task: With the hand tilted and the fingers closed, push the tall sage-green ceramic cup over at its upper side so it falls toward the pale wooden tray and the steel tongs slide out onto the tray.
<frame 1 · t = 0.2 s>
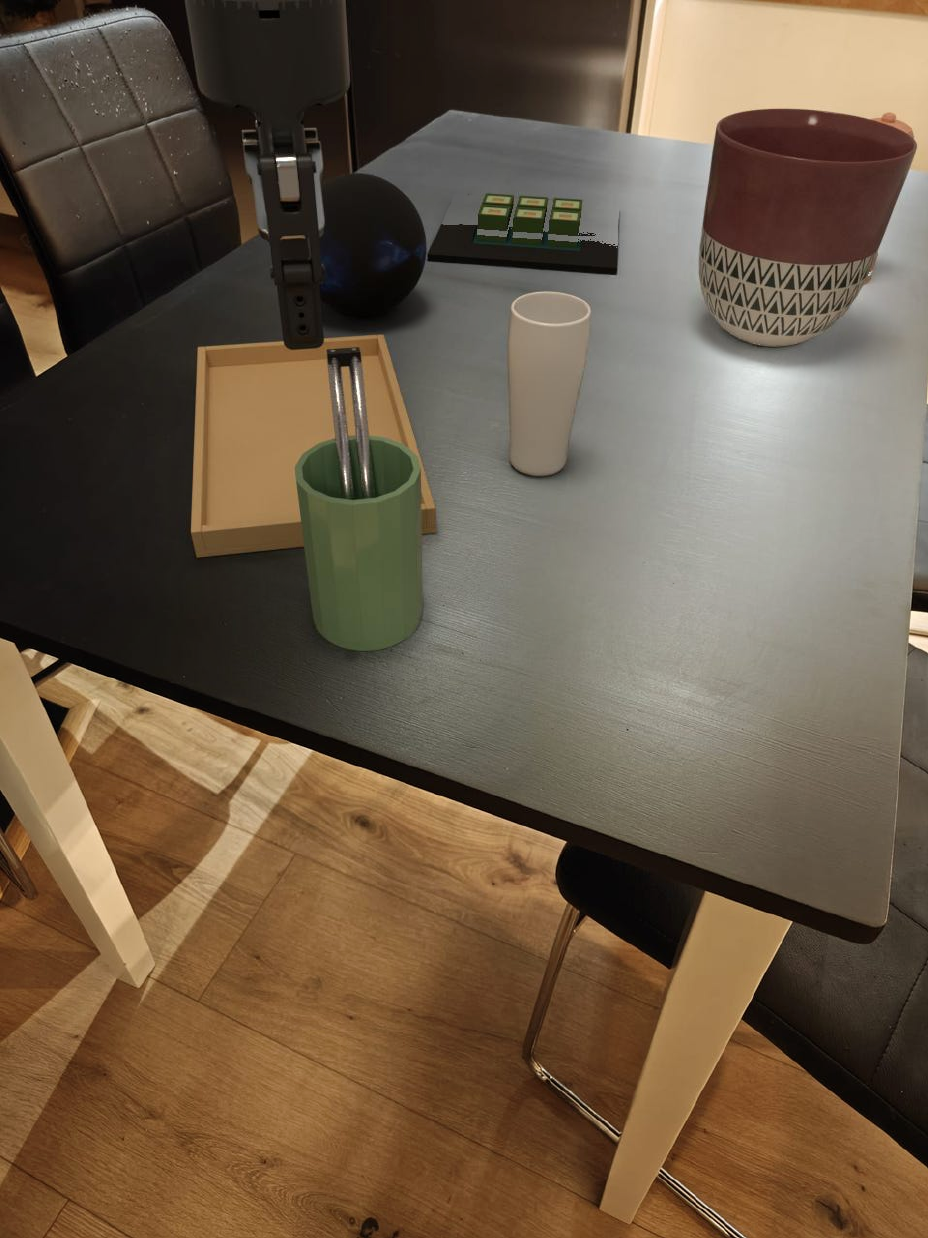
hand: (299, 313, 53), 23 cm above the table, tool pointing down, fingers open, 8 cm apart
green cup: (367, 613, 68), on the table, touching tongs
decorative sphere: (364, 311, 108), on the table
tongs: (358, 497, 63), point 10 cm above the table, touching green cup
planter: (762, 336, 105), on the table
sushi: (529, 235, 128), on the table
drinking glass: (537, 464, 84), on the table
pepper shaker: (840, 276, 119), on the table
tray: (305, 441, 86), on the table
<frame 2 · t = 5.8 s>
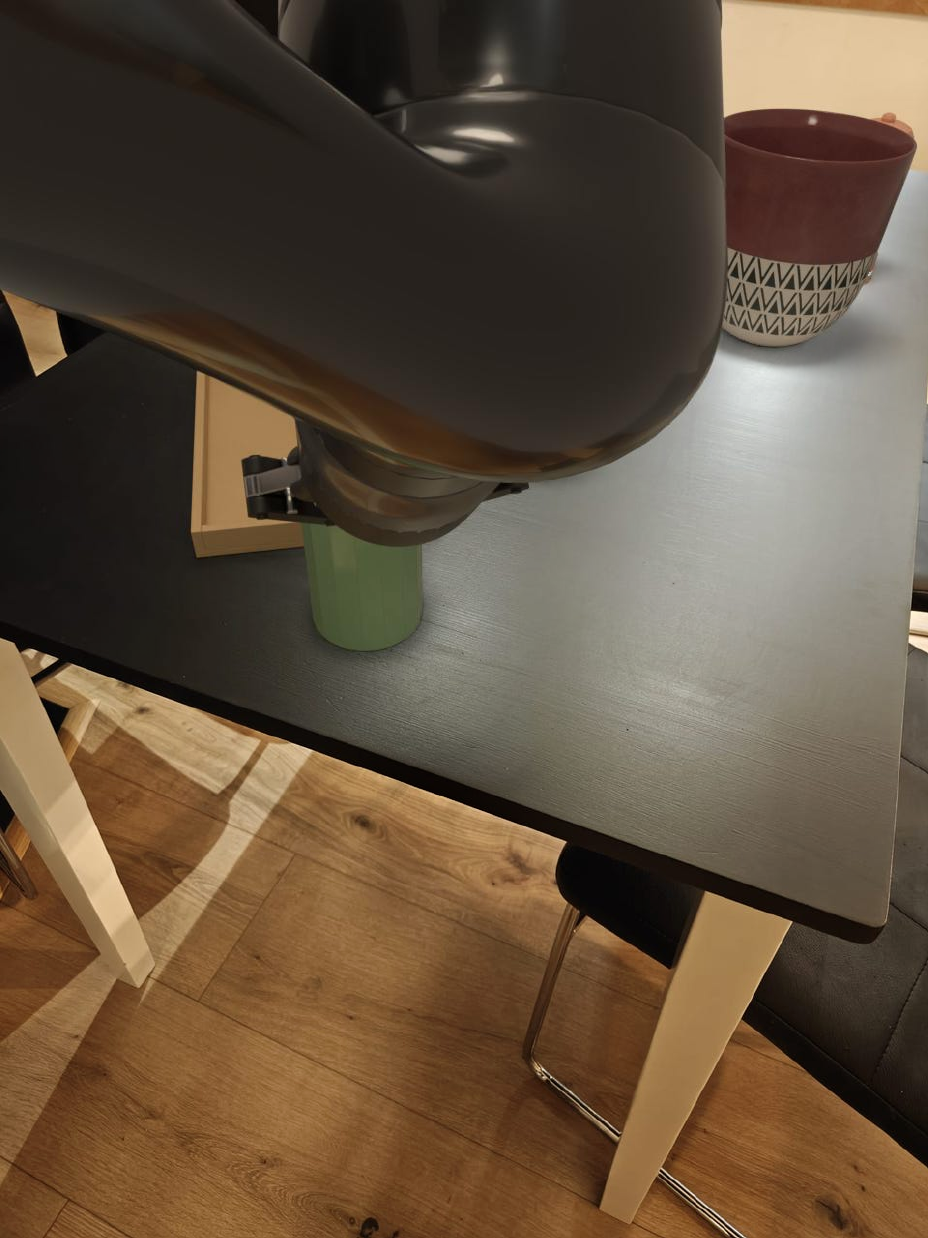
hand: (377, 509, 48), 18 cm above the table, tool tilted 45°, fingers closed
nothing on the table moved.
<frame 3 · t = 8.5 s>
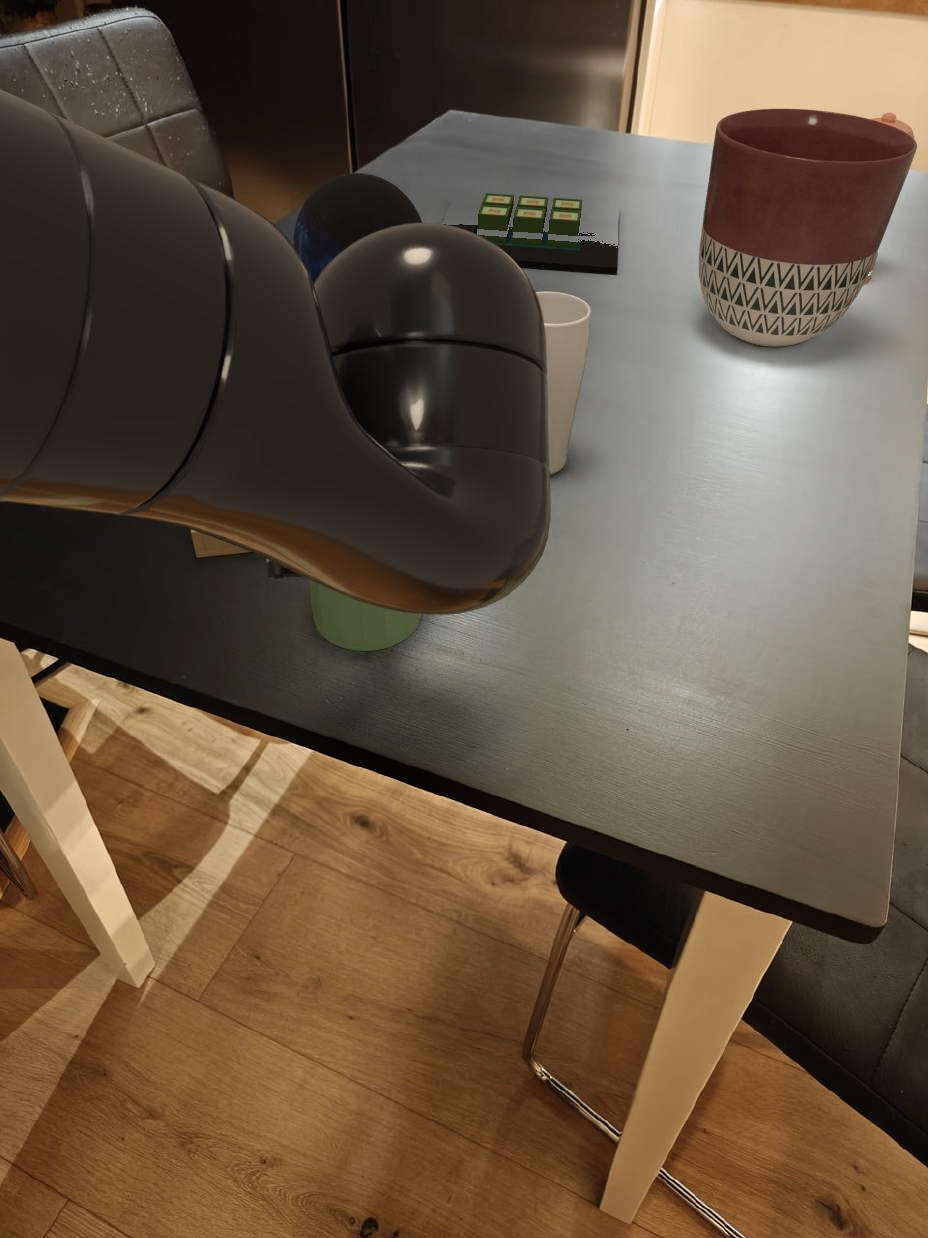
hand: (369, 561, 59), 9 cm above the table, tool tilted 45°, fingers closed
green cup: (367, 613, 68), on the table, touching gripper, tongs
everything else where it was.
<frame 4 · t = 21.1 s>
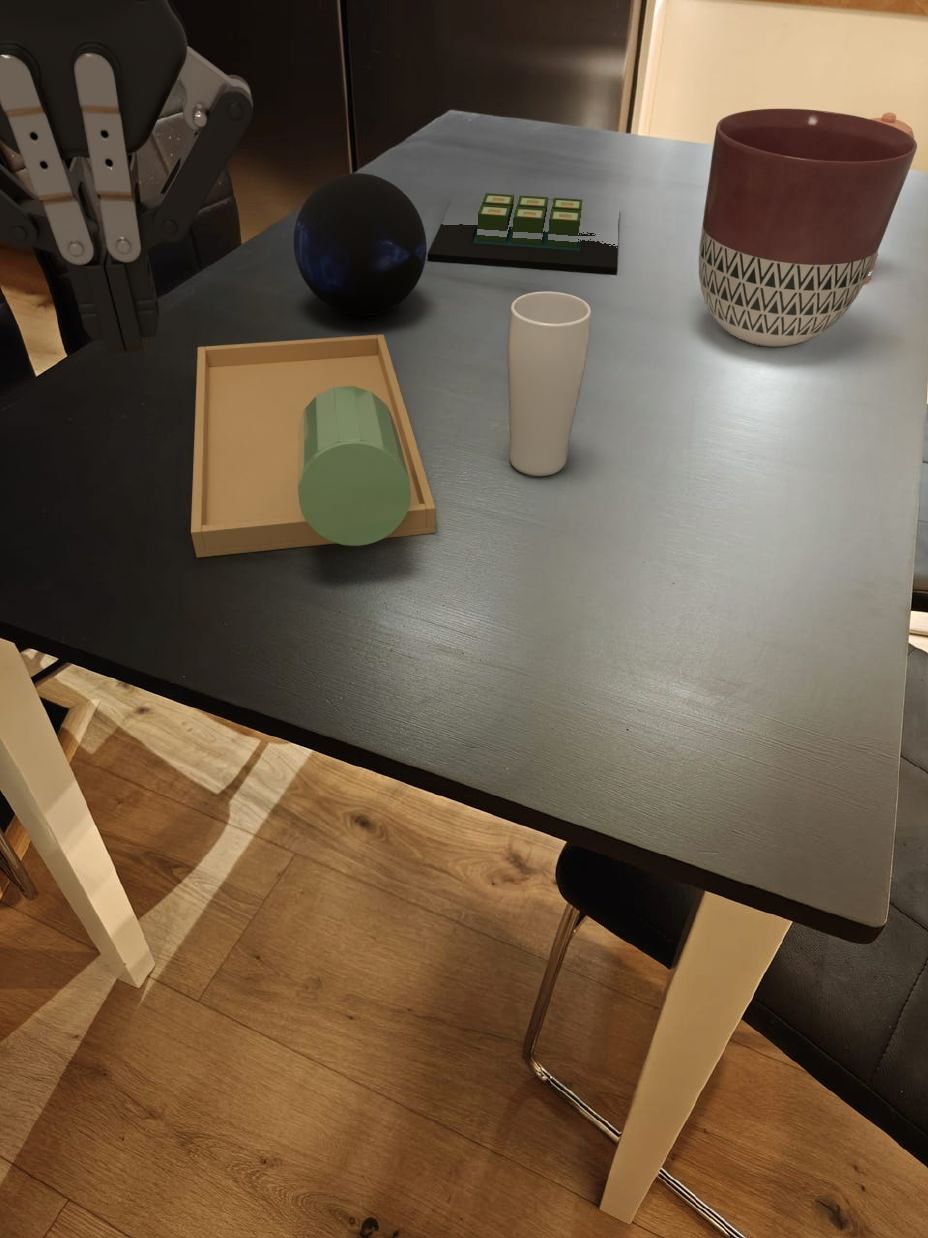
hand: (129, 344, 37), 29 cm above the table, tool pointing down, fingers closed
green cup: (355, 496, 66), point 8 cm above the table, tilted 100°, touching tongs, tray
tongs: (351, 478, 77), point 3 cm above the table, tilted 76°, touching green cup, tray
everything else where it was.
at the end: green cup tilted 100°; tongs inside the target area on the tray (10.8 cm from its centre), point 2.8 cm above the tray's base; tongs touching green cup, tray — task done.
